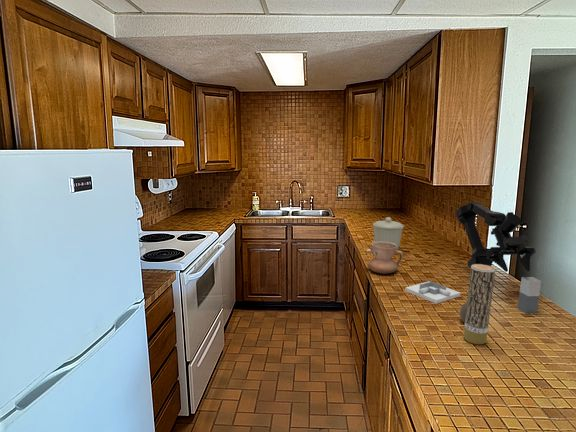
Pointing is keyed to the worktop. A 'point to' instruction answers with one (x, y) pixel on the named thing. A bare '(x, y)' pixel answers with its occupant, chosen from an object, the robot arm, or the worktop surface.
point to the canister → (388, 231)
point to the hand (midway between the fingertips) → (517, 271)
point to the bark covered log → (479, 303)
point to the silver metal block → (529, 294)
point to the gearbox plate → (432, 292)
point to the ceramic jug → (384, 257)
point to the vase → (463, 312)
